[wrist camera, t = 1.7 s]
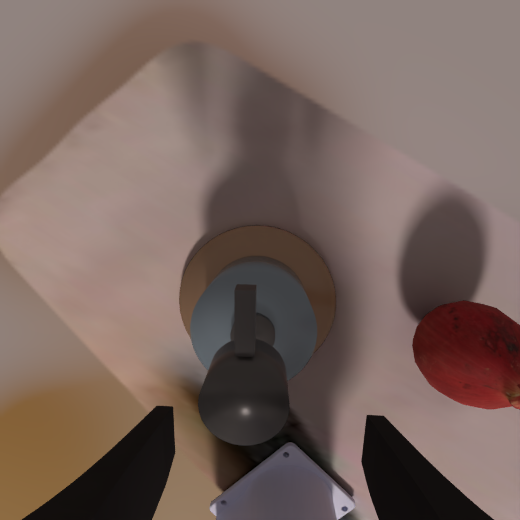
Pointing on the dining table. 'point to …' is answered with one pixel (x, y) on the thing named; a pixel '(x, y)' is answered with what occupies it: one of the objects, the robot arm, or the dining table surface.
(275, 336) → the dispenser
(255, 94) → the dining table surface
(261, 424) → the pump head
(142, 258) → the dining table surface
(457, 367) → the red round fruit
